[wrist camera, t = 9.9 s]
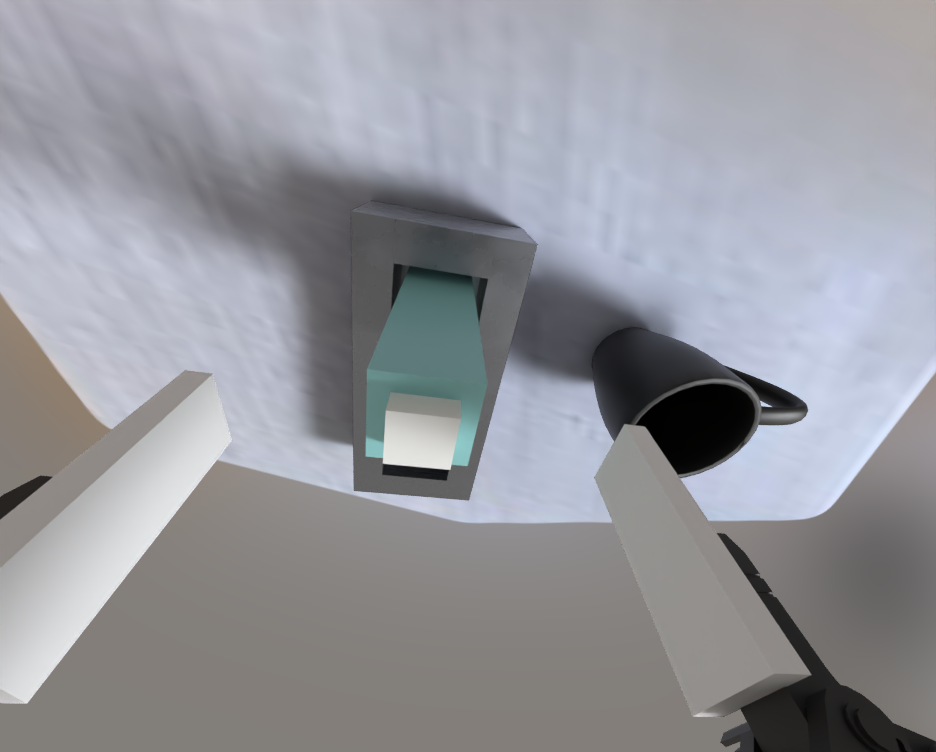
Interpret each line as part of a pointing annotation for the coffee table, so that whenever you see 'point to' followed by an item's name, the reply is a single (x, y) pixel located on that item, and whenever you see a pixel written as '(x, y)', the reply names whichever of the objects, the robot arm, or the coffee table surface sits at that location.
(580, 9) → the coffee table surface
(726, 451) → the mug
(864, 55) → the coffee table surface
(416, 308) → the plug
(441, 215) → the socket panel
